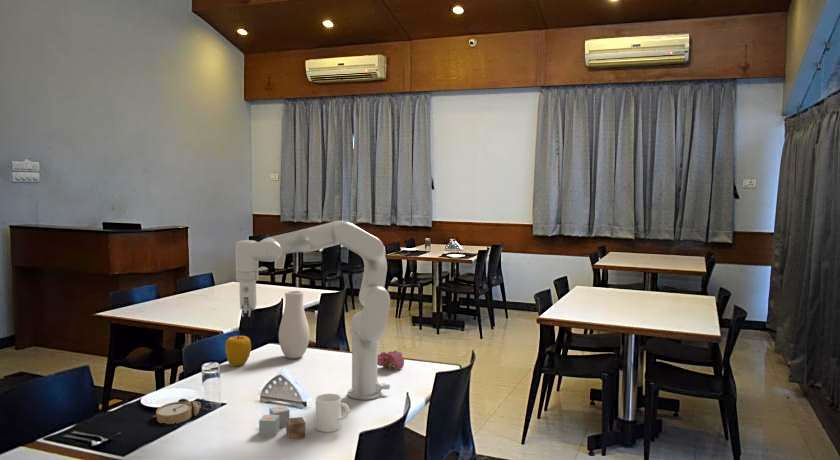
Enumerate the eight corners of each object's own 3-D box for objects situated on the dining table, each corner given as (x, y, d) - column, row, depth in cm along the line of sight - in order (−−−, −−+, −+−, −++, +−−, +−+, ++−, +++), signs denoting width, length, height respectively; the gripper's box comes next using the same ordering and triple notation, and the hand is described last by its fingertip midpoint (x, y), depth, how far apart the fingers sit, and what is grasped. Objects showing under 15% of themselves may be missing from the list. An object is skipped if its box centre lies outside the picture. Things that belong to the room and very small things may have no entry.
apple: (246, 368, 258) (246, 338, 257) (221, 368, 258) (221, 338, 257) (254, 361, 269) (254, 332, 268) (230, 361, 269) (229, 332, 268)
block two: (284, 420, 201) (284, 405, 201) (289, 425, 197) (289, 409, 197) (269, 423, 199) (269, 407, 198) (274, 428, 195) (274, 412, 194)
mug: (342, 436, 189) (342, 405, 188) (310, 429, 194) (310, 399, 193) (355, 427, 196) (356, 397, 195) (324, 420, 201) (324, 392, 200)
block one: (279, 430, 193) (279, 414, 193) (275, 436, 188) (275, 420, 188) (264, 429, 193) (264, 414, 193) (259, 436, 188) (259, 420, 188)
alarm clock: (148, 411, 200) (187, 391, 212) (150, 424, 201) (189, 404, 213) (167, 419, 194) (207, 398, 206) (170, 432, 195) (209, 411, 207)
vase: (273, 360, 271) (273, 294, 269) (285, 352, 284) (285, 289, 282) (303, 362, 268) (303, 295, 266) (313, 354, 282) (313, 290, 280)
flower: (381, 373, 265) (390, 352, 269) (399, 379, 259) (408, 358, 263) (368, 363, 257) (378, 342, 260) (386, 369, 251) (396, 347, 255)
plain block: (302, 432, 192) (302, 416, 191) (305, 438, 187) (305, 422, 187) (286, 434, 190) (286, 418, 189) (289, 440, 185) (289, 424, 185)
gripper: (256, 279, 202) (256, 330, 203) (260, 272, 219) (260, 319, 220) (233, 279, 200) (233, 330, 201) (238, 272, 217) (238, 319, 218)
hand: (247, 324), depth 210 cm, fingers open, 9 cm apart
